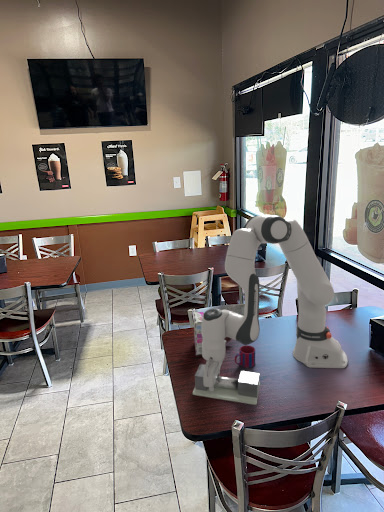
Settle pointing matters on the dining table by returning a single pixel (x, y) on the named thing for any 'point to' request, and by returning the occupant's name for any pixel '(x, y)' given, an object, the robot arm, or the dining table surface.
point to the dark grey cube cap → (248, 384)
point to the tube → (226, 382)
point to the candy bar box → (198, 332)
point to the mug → (246, 356)
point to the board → (226, 395)
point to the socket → (200, 378)
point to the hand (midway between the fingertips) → (214, 382)
